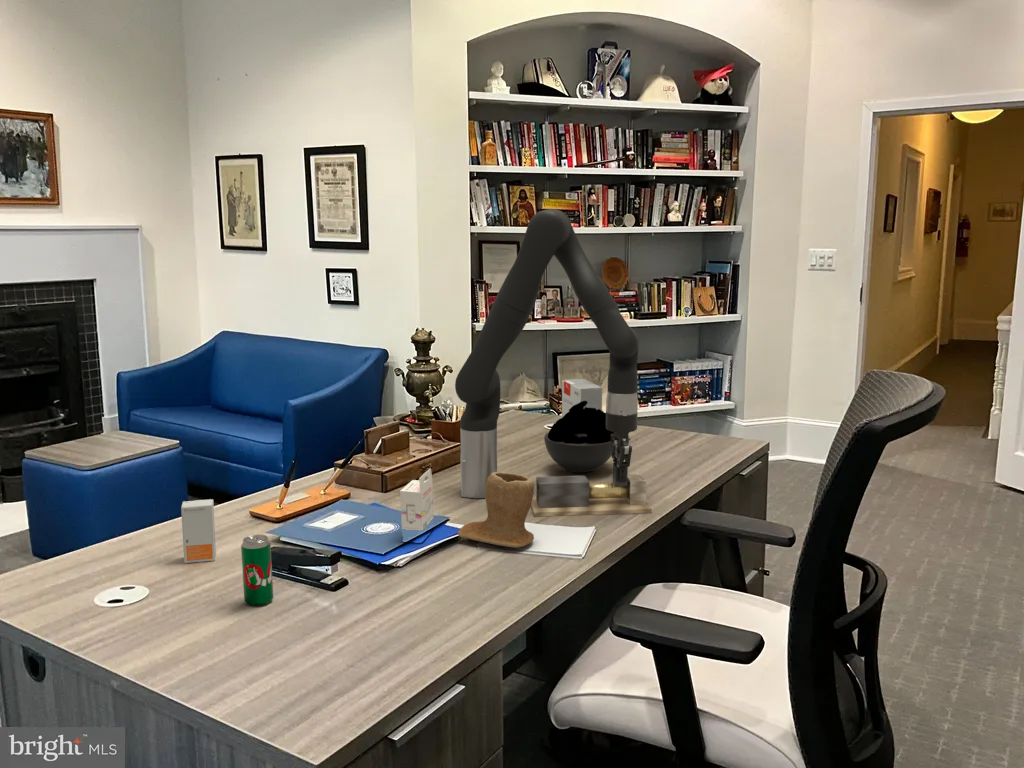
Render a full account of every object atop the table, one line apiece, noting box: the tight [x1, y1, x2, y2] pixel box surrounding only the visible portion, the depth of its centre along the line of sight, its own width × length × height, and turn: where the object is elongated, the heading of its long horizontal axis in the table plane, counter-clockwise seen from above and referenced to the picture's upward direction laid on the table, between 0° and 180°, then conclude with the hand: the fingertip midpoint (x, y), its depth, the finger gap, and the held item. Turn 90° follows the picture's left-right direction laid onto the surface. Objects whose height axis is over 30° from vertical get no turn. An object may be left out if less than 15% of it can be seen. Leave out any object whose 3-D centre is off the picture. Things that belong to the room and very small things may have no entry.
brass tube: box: [589, 462, 630, 499], centre depth 208 cm, size 17×4×8 cm, turn 95°
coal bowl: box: [544, 401, 614, 474], centre depth 238 cm, size 20×20×19 cm
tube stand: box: [530, 473, 652, 518], centre depth 208 cm, size 28×12×7 cm, turn 95°
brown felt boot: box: [457, 471, 535, 548], centre depth 185 cm, size 15×12×15 cm
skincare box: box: [180, 498, 217, 564], centre depth 175 cm, size 6×4×12 cm
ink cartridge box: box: [399, 467, 434, 531], centre depth 187 cm, size 9×5×15 cm, turn 168°
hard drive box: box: [561, 378, 603, 418], centre depth 266 cm, size 16×8×20 cm, turn 17°
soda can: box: [240, 534, 274, 607], centre depth 155 cm, size 5×5×12 cm
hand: (619, 479), depth 208 cm, fingers closed on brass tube, 3 cm apart
